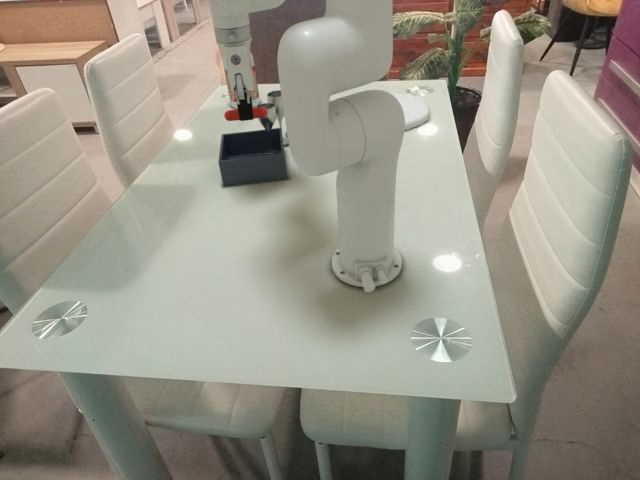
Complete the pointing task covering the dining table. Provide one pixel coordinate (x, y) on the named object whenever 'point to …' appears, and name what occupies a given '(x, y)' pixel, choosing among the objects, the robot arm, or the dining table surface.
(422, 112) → the decorative plate
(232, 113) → the red rounded rod
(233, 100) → the fruit juice
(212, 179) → the dining table surface
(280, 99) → the goblet set
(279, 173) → the bin
